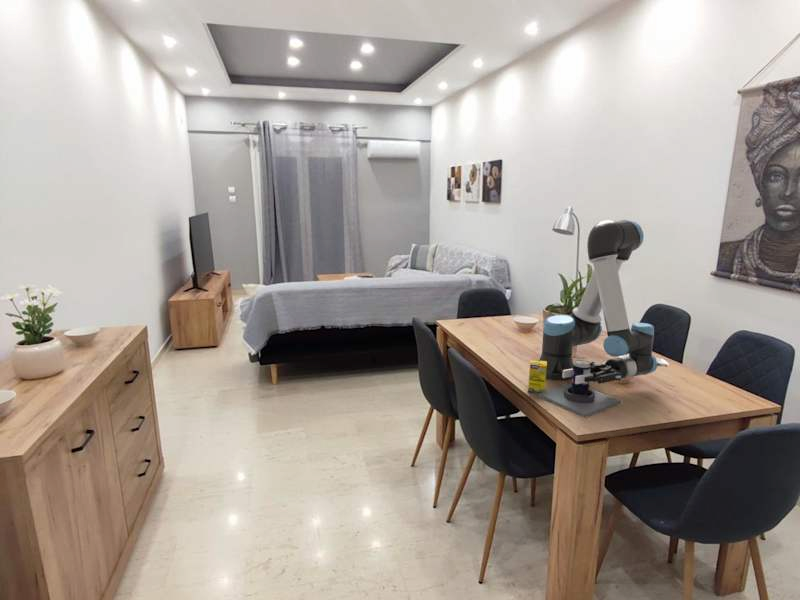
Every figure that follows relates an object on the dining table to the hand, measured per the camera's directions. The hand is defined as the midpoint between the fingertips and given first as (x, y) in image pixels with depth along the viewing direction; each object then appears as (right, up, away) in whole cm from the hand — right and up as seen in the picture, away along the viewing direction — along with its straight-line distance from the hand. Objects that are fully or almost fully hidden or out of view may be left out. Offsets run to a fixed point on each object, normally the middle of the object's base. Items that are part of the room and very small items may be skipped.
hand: (569, 377), depth 163 cm
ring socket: (+5, -9, +4) cm, 11 cm away
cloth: (+48, -1, +46) cm, 67 cm away
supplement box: (-8, -7, +12) cm, 16 cm away
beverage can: (+5, -7, +3) cm, 9 cm away
